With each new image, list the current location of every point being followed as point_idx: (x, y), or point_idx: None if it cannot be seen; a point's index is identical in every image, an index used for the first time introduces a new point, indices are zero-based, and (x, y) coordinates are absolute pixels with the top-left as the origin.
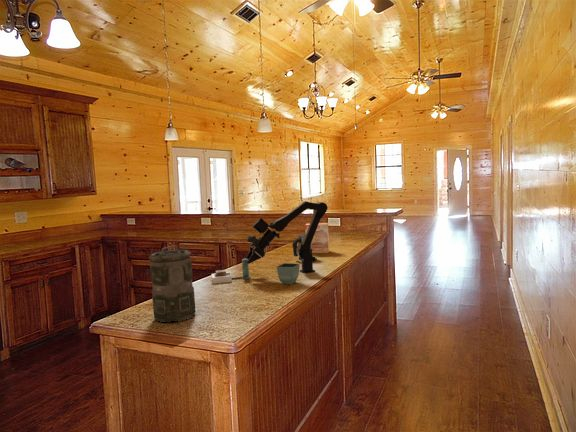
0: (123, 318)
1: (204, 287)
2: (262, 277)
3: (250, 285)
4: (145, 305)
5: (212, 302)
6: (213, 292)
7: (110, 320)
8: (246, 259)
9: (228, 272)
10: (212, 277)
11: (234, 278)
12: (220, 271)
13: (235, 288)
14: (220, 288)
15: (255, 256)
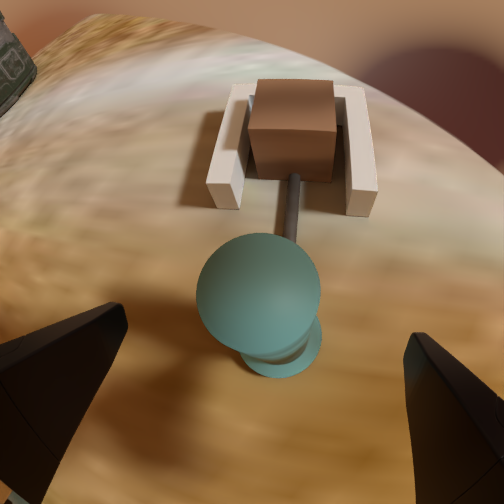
0: (77, 30)
1: (187, 88)
2: (213, 467)
3: (55, 305)
4: (120, 23)
5: (7, 145)
6: (82, 129)
7: (85, 21)
8: (216, 316)
9: (360, 178)
10: (244, 85)
11: (283, 234)
12: (282, 100)
13: (61, 216)
14: (113, 149)
15: (6, 420)
